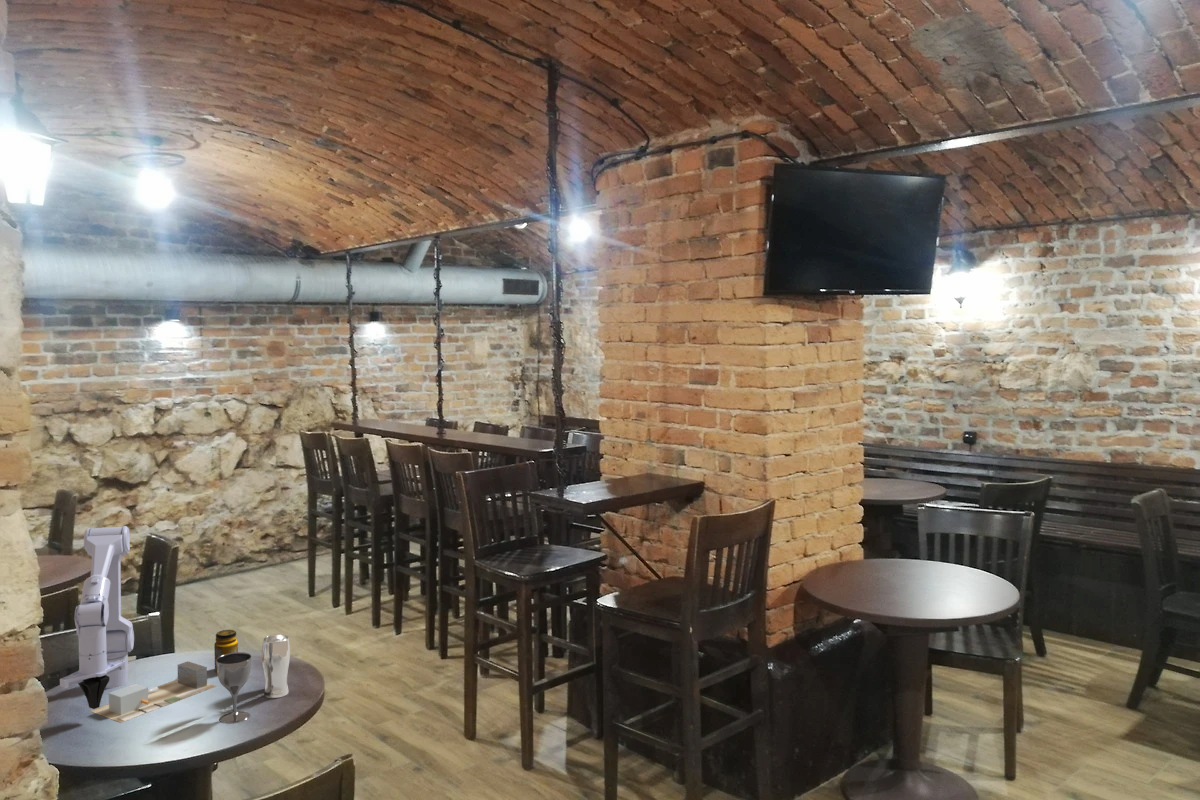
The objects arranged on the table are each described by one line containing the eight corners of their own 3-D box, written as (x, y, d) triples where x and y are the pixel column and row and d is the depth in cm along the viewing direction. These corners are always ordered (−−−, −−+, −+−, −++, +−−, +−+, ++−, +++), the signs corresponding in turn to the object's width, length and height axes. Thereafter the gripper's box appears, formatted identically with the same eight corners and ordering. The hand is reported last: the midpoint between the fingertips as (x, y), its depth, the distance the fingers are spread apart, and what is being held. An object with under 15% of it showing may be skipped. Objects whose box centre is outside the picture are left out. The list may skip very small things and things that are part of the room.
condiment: (243, 674, 242) (243, 632, 241) (212, 682, 236) (211, 639, 235) (233, 667, 247) (232, 626, 246) (202, 675, 241) (201, 633, 240)
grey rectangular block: (177, 683, 232) (177, 664, 232) (188, 679, 235) (187, 661, 235) (196, 689, 228) (196, 670, 228) (206, 685, 231) (206, 667, 231)
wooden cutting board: (89, 715, 215) (89, 709, 214) (185, 680, 237) (185, 675, 237) (120, 727, 208) (120, 721, 208) (216, 690, 231) (216, 685, 230)
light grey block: (109, 710, 215) (108, 692, 214) (151, 695, 224) (150, 678, 224) (126, 717, 211) (126, 699, 211) (168, 701, 220) (168, 684, 220)
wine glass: (248, 723, 211) (247, 663, 210) (213, 725, 210) (212, 664, 209) (255, 709, 219) (254, 651, 218) (222, 711, 218) (221, 652, 217)
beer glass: (281, 700, 225) (280, 643, 224) (256, 697, 226) (256, 641, 225) (295, 689, 232) (295, 634, 231) (272, 687, 233) (271, 632, 232)
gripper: (71, 664, 200) (72, 722, 201) (132, 646, 212) (133, 700, 213) (54, 658, 203) (55, 715, 204) (115, 640, 216) (116, 694, 217)
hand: (94, 707), depth 209 cm, fingers closed
